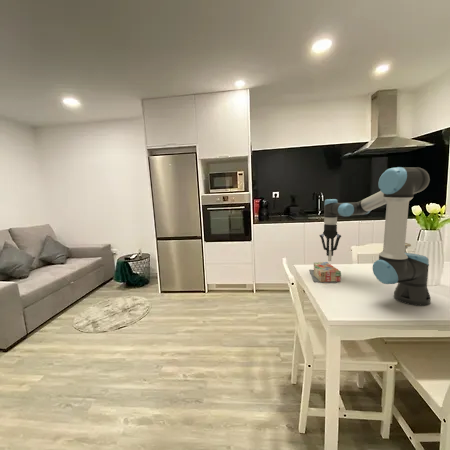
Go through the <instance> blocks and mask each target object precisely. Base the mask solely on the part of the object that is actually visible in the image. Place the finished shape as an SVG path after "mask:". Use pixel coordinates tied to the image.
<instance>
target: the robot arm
mask: <svg viewBox="0 0 450 450" xmlns="http://www.w3.org/2000/svg"><path fill="white" fill-rule="evenodd" d="M430 181H431V179H430V174H429V173H428V171H427V170H426V169H424V168H421V167H419V166H417V167H414V166H413V167H406V166H405V167H404V166H403V167H402V166H397V167H391V168H387V169H386V170H385V171H384V172H383V173H382V174H381V176H380V177H379V179H378V189H379V190H380V191H378V192H376V193H374V194H372V195H370V196H368V197H366V198H363V199H362V200H359V201H357V202H355V201H354V202H338V201H339V200H338V199H336V198H332V199H331V198H329V199H328V198H327V199H325V200H324V207H323V208H324V211H323V212H324V213H323V215H324V216H323V217H324V218H323V223H324V225H323V232H322V233H321V234H319V237H320V241H321V244H322V247H323V250H324V251H326V256H327V260H328V262H332V257H333V256H334V251H336V250H338V246H339V243H340V239H341V238H342V235H341V234H339V232H338V216H340V217H350V216H360V215H361V216H363V215H368V214H370V212H371V211H372V210H375V209H377V208H380V207H382V206H384V205H385V206H386V208H385V209H386V210H385V221H384V234H383V246H382V247H383V248H382V249H383V250H382V251H381V252H378V259H377V260H375V262H373V264H372V274H373V276H375V277H376V279H377V280H378V282H380V283H382V284H385V285H395V284H397V285H396V287H395V289H394V292H393V298H394V299H395V300H397V302H400V303H404V304H408V305H411V306H419V307H420V306H428V305H430V304H431V302H432V301H431V298H432V297H431V296H430V292H429V289H428V276H429V267H430V264H429V262H430V261H429V258H428V257H427V256H426V255H422V254H417V253H411V252H407V253H404V251H405V243H406V239H407V227H408V216H409V207H410V205H409V204H410V201H411V200H412V199H413V198H414V195H416V194H417V193H420V192H422V191H424V190H425V189H427V187H428V186H429V184H430ZM324 237H325V239H326V243H325V239H324ZM334 240H335V241H334Z"/></svg>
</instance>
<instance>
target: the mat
mask: <svg viewBox="0 0 450 450" xmlns="http://www.w3.org/2000/svg"><path fill="white" fill-rule="evenodd" d="M308 271H309V274H310V276H311V278H312V281H313V282H314V283H323V284H324V283H329V284H337V282H338V281H331V282H320V281H319V280H318V279H317V278H316V277H315V276H314V269H309V270H308Z"/></svg>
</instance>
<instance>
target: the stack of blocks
mask: <svg viewBox="0 0 450 450" xmlns="http://www.w3.org/2000/svg"><path fill="white" fill-rule="evenodd" d="M313 270H314V276H315V277H316V278H317V279H318V280H319V281H320V282H319V283H322V282H331V281H336V282H341V279H342V278H341V276H342V275H341V273H342V272H341V270H339V269H338V268H337V267H335V266H333V265H332V264H330V263H329V261H328V262H327V261H325V262H324V261H322V262H321V261H318V262H313Z"/></svg>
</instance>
